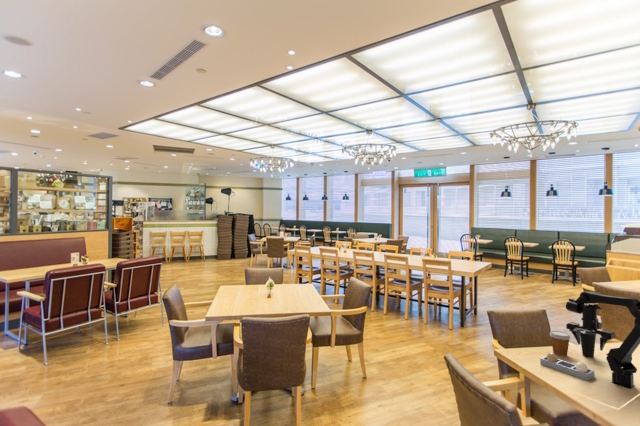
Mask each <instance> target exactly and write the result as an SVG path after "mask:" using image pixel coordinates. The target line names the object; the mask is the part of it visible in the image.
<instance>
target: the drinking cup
mask: <svg viewBox="0 0 640 426" xmlns="http://www.w3.org/2000/svg"><path fill="white" fill-rule="evenodd" d="M591 331H592V330H591ZM596 337H597V334H595V333H591V332H587V331H583V330H580V345H581V352H582V354H581V355H582V356H583V357H586V358H588V357H590V359H593V358H594V356H595V347H596V339H597V338H596Z"/></svg>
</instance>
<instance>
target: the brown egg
mask: <svg viewBox="0 0 640 426" xmlns="http://www.w3.org/2000/svg"><path fill="white" fill-rule="evenodd" d="M546 356H547V360H548V361H551V362H554V363H556V362H557V359H558V356H557V354H554V353H553V352H548V353H547V354H546Z"/></svg>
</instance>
